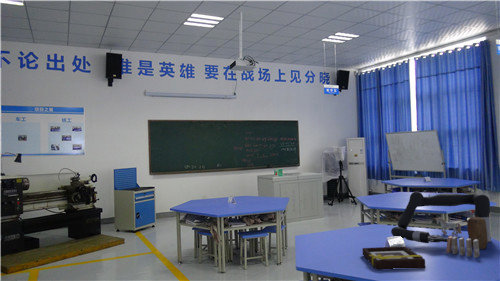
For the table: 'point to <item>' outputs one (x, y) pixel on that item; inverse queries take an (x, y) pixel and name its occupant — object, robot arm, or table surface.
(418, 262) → the picture frame
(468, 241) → the domino
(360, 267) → the table surface
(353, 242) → the table surface
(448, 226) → the unicorn figurine
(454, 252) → the domino
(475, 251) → the domino
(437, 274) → the table surface
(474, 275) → the table surface
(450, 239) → the domino
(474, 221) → the block
